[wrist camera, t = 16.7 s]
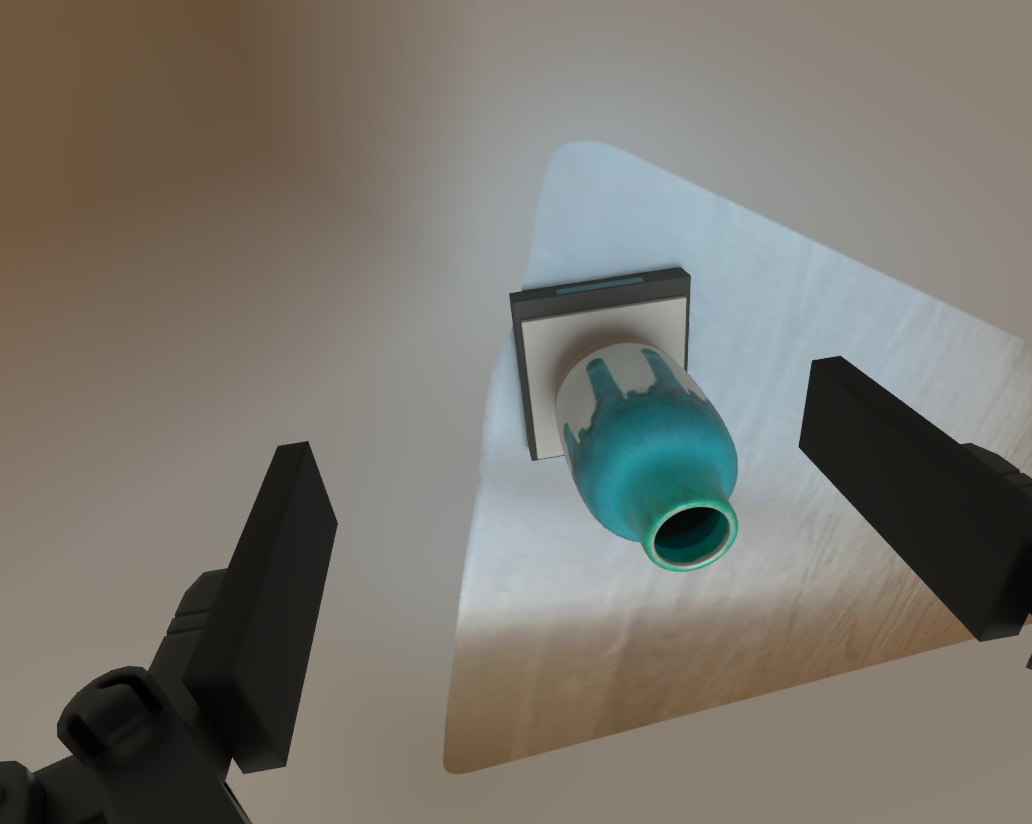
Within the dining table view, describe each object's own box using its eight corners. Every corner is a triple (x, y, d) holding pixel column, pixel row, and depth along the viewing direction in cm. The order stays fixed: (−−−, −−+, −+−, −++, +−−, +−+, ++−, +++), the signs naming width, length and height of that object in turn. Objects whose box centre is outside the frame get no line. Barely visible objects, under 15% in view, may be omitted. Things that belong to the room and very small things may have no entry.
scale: (509, 293, 48) (512, 305, 45) (680, 267, 48) (693, 278, 46) (528, 447, 55) (532, 465, 53) (676, 423, 56) (687, 439, 53)
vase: (679, 411, 52) (791, 574, 35) (562, 448, 52) (619, 626, 36) (659, 300, 46) (780, 433, 30) (528, 343, 47) (577, 496, 30)
